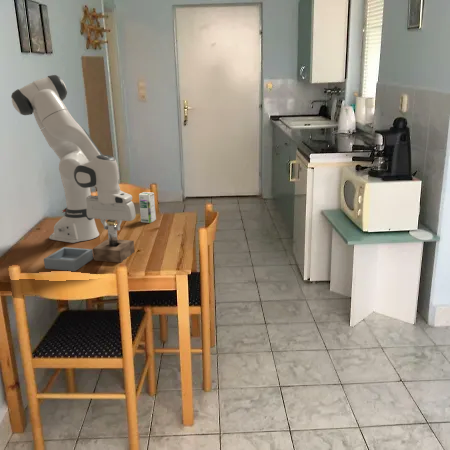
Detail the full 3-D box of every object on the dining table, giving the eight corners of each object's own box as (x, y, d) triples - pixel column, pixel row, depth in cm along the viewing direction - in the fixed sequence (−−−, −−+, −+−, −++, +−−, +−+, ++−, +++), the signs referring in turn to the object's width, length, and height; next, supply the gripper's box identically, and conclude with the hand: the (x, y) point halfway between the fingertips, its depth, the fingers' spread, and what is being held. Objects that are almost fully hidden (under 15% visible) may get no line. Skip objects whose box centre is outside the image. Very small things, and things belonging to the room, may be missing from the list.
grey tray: (45, 268, 191) (43, 258, 190) (64, 256, 203) (63, 247, 202) (75, 271, 188) (73, 261, 186) (93, 258, 200) (92, 249, 199)
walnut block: (94, 260, 198) (92, 248, 196) (109, 250, 209) (107, 238, 207) (121, 262, 195) (119, 250, 193) (134, 251, 205) (133, 240, 204)
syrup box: (140, 222, 246) (138, 194, 241) (146, 219, 251) (144, 191, 247) (150, 223, 244) (148, 194, 239) (156, 219, 249) (154, 192, 245)
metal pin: (107, 247, 200) (105, 221, 196) (111, 244, 203) (109, 219, 199) (115, 248, 199) (113, 222, 195) (119, 245, 202) (117, 219, 199)
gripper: (81, 196, 194) (85, 230, 198) (128, 199, 189) (131, 233, 193) (89, 193, 200) (93, 225, 204) (135, 195, 195) (138, 228, 199)
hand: (112, 229), depth 199 cm, fingers closed on metal pin, 3 cm apart
